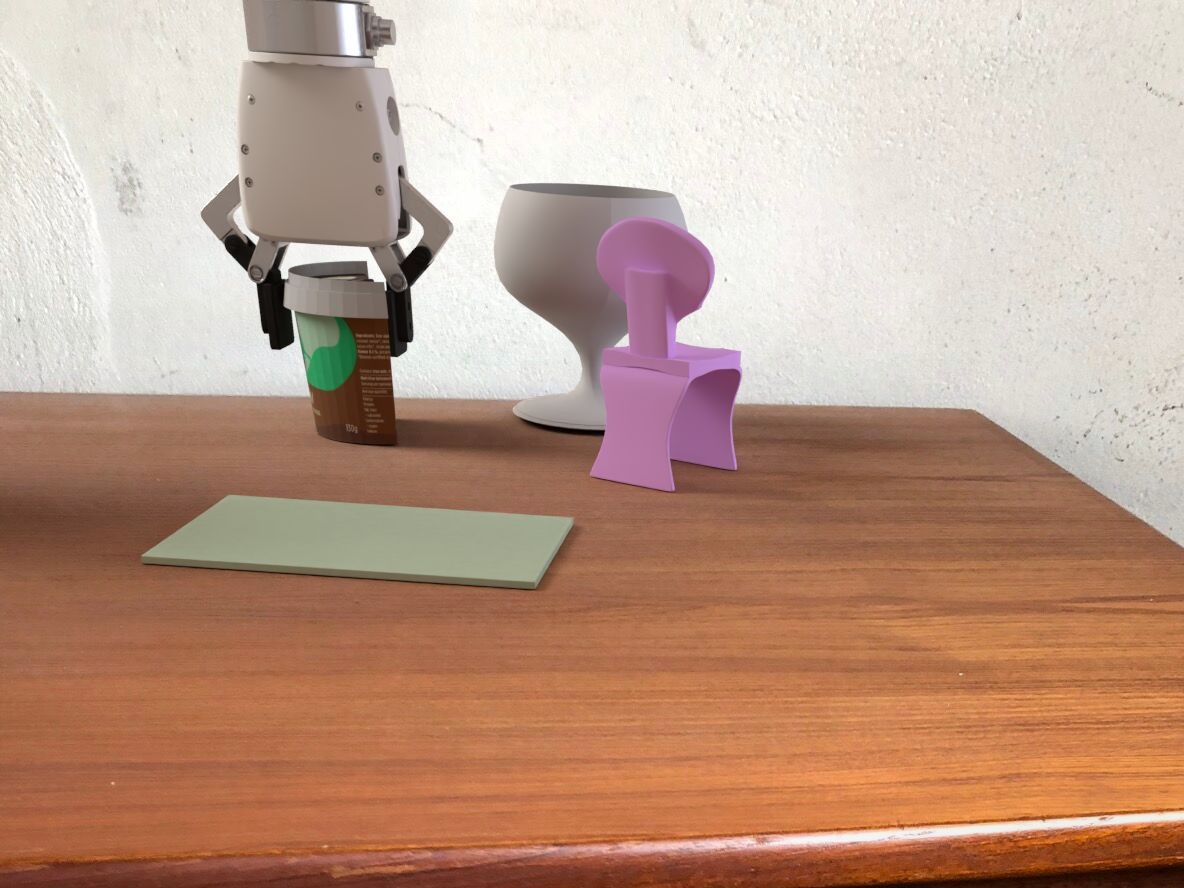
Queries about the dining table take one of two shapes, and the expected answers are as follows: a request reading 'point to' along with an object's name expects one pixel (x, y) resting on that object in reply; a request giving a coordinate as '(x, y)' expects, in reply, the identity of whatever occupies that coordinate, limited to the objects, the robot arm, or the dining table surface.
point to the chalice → (570, 278)
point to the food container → (344, 349)
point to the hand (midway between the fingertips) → (339, 348)
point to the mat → (367, 542)
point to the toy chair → (662, 360)
